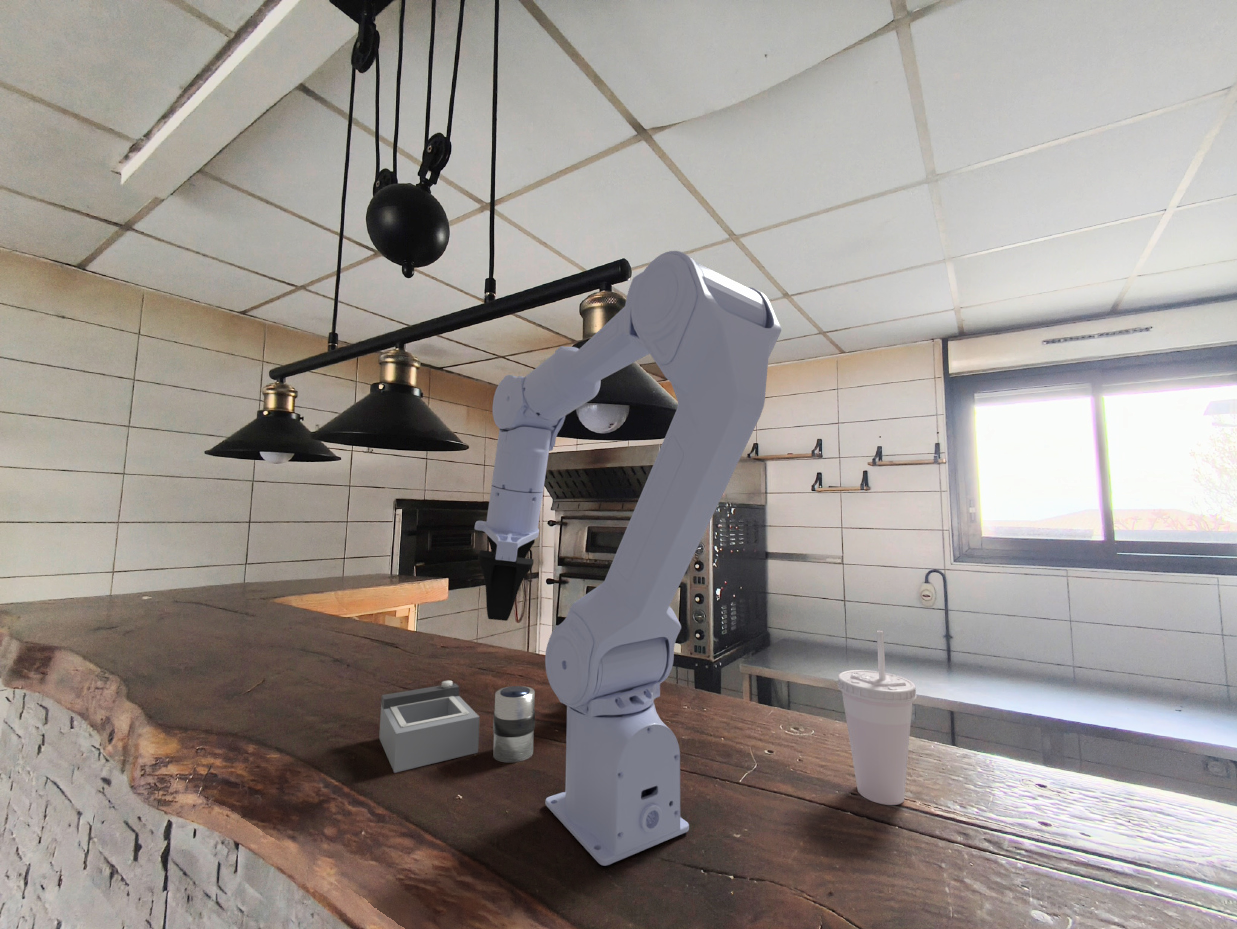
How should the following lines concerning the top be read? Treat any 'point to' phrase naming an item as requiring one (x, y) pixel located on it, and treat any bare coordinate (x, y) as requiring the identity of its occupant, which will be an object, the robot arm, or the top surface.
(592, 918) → the top surface
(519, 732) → the lens
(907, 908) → the top surface
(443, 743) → the grey sink basin
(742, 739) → the top surface
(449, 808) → the top surface
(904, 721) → the smoothie
